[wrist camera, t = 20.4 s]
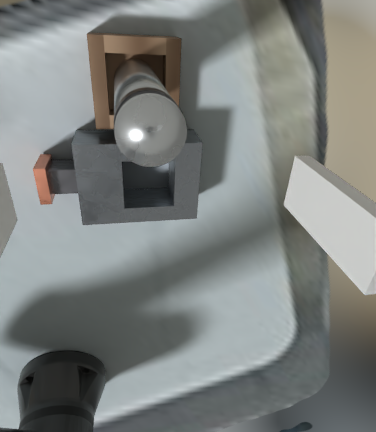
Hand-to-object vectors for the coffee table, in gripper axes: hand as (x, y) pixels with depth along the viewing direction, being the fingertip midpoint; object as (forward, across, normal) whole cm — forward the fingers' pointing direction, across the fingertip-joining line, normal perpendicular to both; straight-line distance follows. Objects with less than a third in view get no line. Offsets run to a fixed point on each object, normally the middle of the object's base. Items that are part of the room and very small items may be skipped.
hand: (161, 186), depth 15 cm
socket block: (+26, +1, -10) cm, 28 cm away
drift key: (+25, -7, -10) cm, 28 cm away
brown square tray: (+25, 0, 0) cm, 25 cm away
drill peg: (+25, 0, 0) cm, 25 cm away
